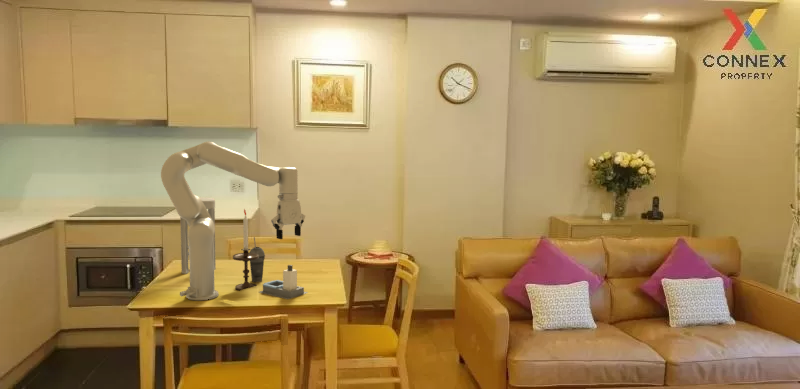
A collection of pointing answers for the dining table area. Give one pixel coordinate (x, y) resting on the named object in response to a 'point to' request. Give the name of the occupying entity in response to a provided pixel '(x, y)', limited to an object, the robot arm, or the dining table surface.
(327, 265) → the dining table surface
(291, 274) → the white bottle
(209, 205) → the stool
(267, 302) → the dining table surface
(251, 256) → the candlestick
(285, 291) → the blue-grey compartment tray
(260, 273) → the beverage cup
